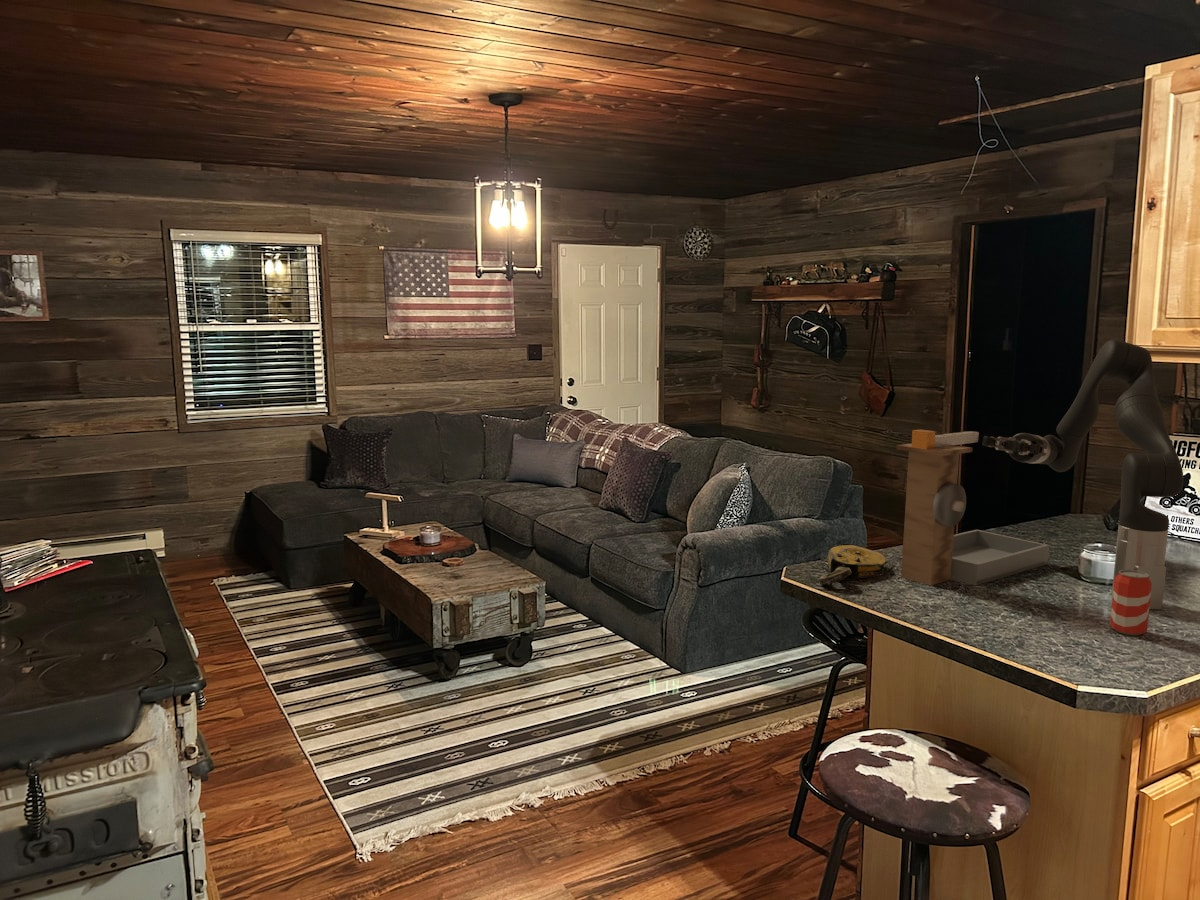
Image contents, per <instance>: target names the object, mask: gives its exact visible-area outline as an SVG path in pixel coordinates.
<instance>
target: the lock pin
mask: <svg viewBox="0 0 1200 900" xmlns="http://www.w3.org/2000/svg"><path fill="white" fill-rule="evenodd" d="M911 430H912V432H911V433H912V434H911V443H912V445H911V447H912V448H919V449H926V450H927V449H934V448H936V447H944V446H951V445H957V446H960V445H966V444H973V443H979V436H980V435H979V434H980V433H979V431H971V430H970V431H968V430H967V431H959V432H952V433H950V432H949V433H943V434H936V431H935V430H927V429H911Z"/></svg>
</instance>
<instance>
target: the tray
mask: <svg viewBox="0 0 1200 900" xmlns="http://www.w3.org/2000/svg"><path fill="white" fill-rule="evenodd" d="M1049 555H1050V544H1045V543H1040V542H1036V541H1032V540H1031V541H1030V540H1026V539H1023V538H1017V537H1013V536H1009V535H1003V534H998V533H994V532H990V531H986V530H985V531H984V530H981V529H973V530H968V531H964V532H960V533H956V534H954V537H953V552H952V566H951V580H955V581H958V582H963V583H966V584H970V585H974V586H979V585H983V584H985V583H989V582H993V581H996V580H1000V579H1002V578H1006V577H1009V576H1013V575H1018V574H1019V573H1022V572H1027V571H1030V570H1034V569H1036V568H1040V567H1044V566H1047V565H1049Z"/></svg>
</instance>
